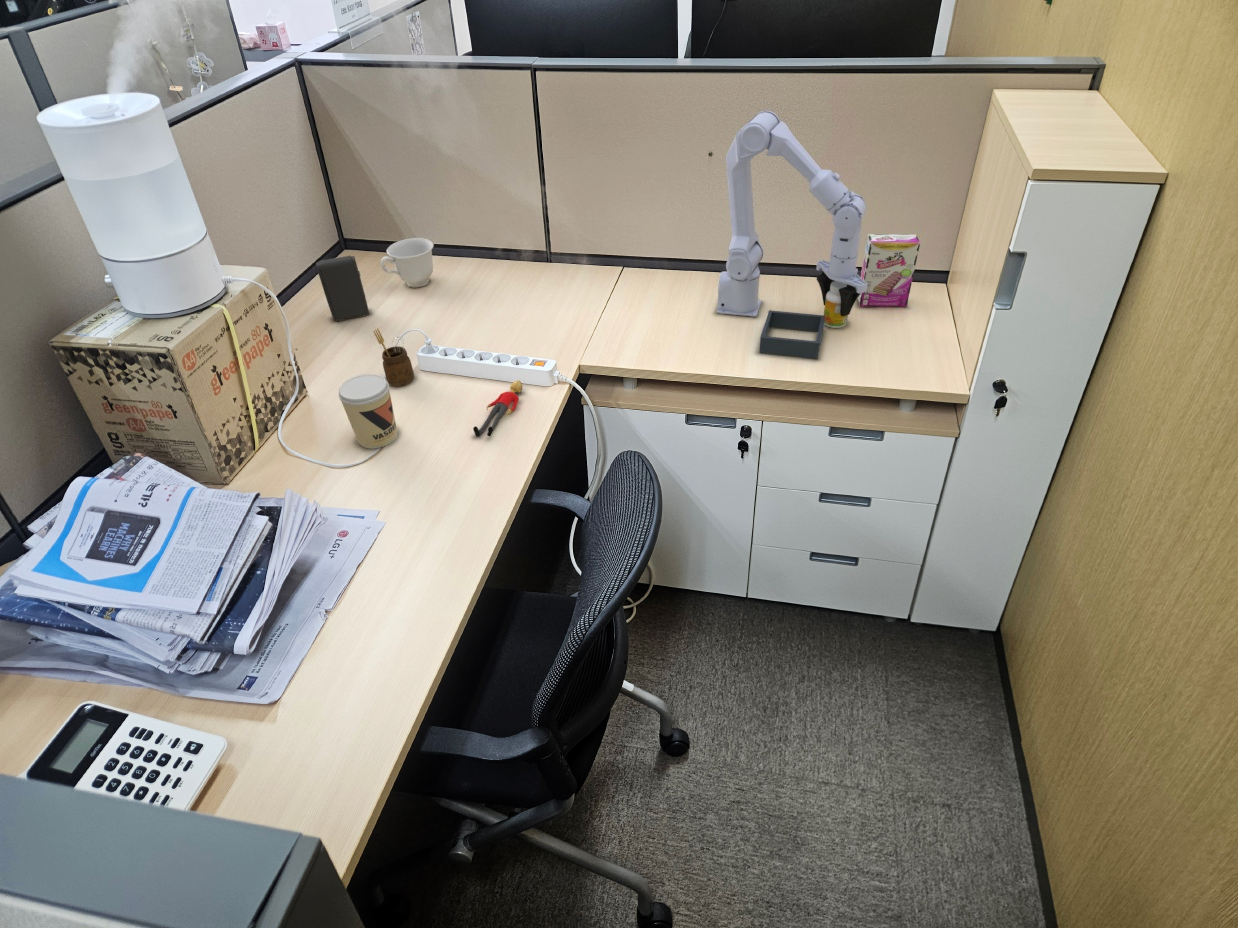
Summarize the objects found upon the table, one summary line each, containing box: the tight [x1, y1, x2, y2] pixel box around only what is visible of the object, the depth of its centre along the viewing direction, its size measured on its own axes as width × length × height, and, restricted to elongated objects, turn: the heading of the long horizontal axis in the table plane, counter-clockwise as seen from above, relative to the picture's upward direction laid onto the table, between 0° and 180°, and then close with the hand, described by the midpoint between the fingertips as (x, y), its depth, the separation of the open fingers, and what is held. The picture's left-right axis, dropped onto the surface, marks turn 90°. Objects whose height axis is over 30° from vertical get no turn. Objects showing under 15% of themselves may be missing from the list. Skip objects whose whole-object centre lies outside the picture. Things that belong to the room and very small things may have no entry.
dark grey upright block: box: [315, 255, 370, 322], centre depth 193 cm, size 9×4×15 cm, turn 108°
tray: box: [758, 309, 825, 360], centre depth 176 cm, size 13×13×4 cm
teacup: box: [380, 237, 435, 288], centre depth 207 cm, size 12×15×10 cm
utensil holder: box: [373, 327, 415, 387], centre depth 169 cm, size 6×6×12 cm
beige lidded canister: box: [338, 373, 398, 449], centre depth 153 cm, size 9×9×12 cm
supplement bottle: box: [823, 281, 849, 329], centre depth 180 cm, size 5×5×10 cm
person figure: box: [472, 379, 523, 438], centre depth 160 cm, size 5×4×18 cm
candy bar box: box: [857, 233, 921, 308], centre depth 184 cm, size 11×5×16 cm, turn 84°
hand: (836, 309), depth 181 cm, fingers closed on supplement bottle, 5 cm apart
